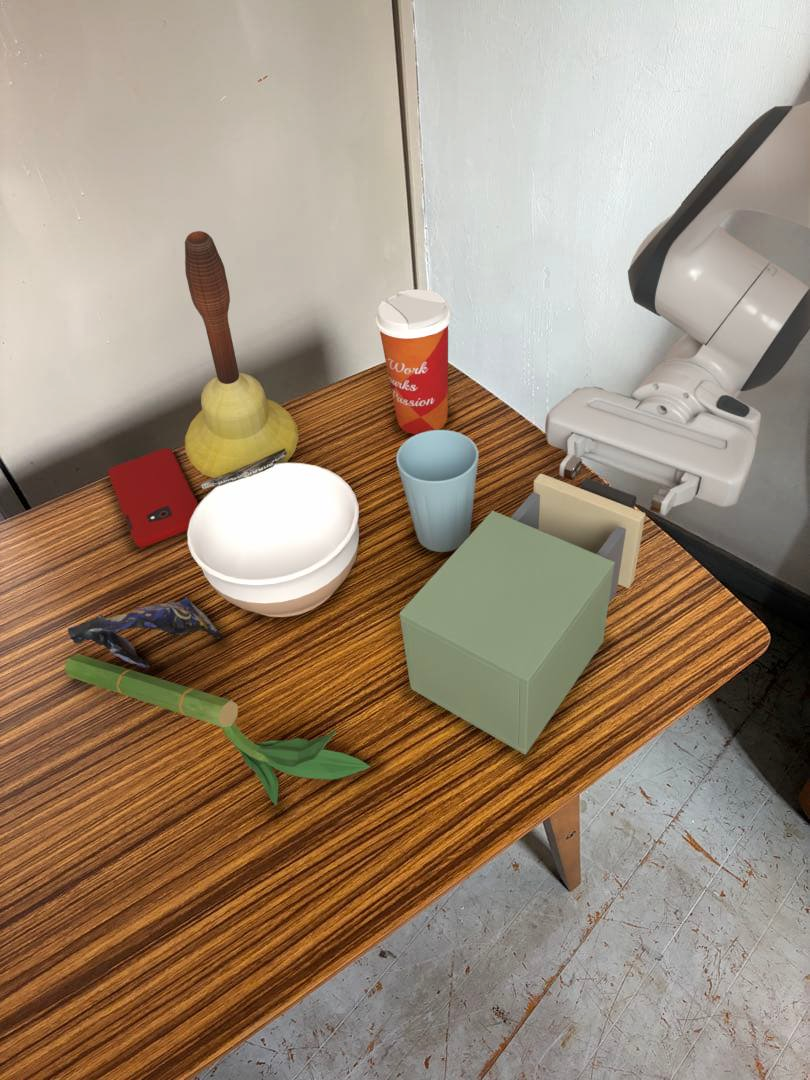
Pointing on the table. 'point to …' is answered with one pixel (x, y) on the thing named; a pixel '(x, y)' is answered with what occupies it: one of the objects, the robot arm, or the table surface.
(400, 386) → the coffee cup
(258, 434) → the handbell
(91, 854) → the table surface
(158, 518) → the cell phone
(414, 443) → the cup
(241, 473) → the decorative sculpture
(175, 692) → the decorative plant
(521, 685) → the cabinet
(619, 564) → the beige drawer
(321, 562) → the bowl
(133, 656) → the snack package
